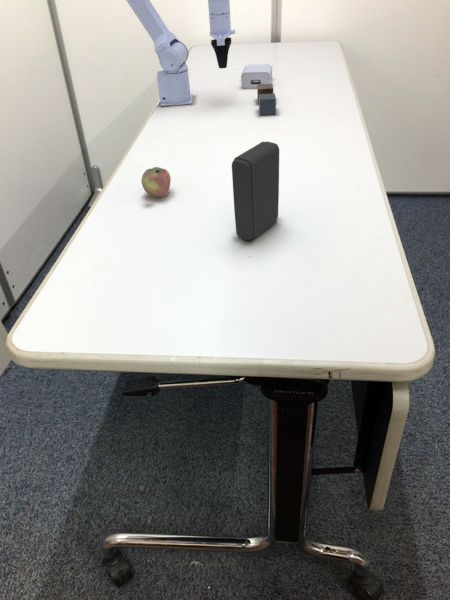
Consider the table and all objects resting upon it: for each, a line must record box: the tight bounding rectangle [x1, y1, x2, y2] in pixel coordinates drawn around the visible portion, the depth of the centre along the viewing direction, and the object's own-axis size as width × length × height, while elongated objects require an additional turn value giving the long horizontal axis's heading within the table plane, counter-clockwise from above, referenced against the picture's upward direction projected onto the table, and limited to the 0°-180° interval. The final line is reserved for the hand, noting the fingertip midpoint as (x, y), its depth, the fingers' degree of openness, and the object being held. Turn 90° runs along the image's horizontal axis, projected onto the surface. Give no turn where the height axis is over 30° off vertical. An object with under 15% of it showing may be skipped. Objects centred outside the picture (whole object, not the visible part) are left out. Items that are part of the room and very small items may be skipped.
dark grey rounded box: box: [231, 140, 280, 242], centre depth 80 cm, size 9×4×15 cm, turn 141°
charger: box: [240, 63, 273, 89], centre depth 151 cm, size 5×9×15 cm
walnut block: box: [256, 83, 274, 106], centre depth 135 cm, size 4×4×4 cm
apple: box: [140, 166, 172, 198], centre depth 95 cm, size 6×8×6 cm
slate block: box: [258, 92, 277, 117], centre depth 128 cm, size 4×4×4 cm
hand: (222, 67), depth 133 cm, fingers closed
